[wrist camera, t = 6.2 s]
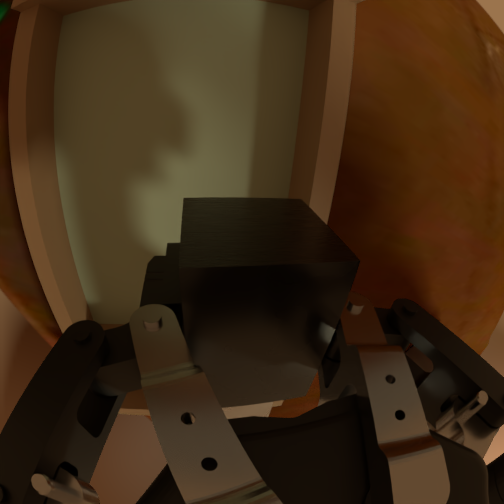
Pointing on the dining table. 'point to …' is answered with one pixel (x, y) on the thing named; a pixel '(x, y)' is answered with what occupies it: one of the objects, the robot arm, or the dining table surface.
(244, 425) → the robot arm
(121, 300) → the wooden tray
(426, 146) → the dining table surface
